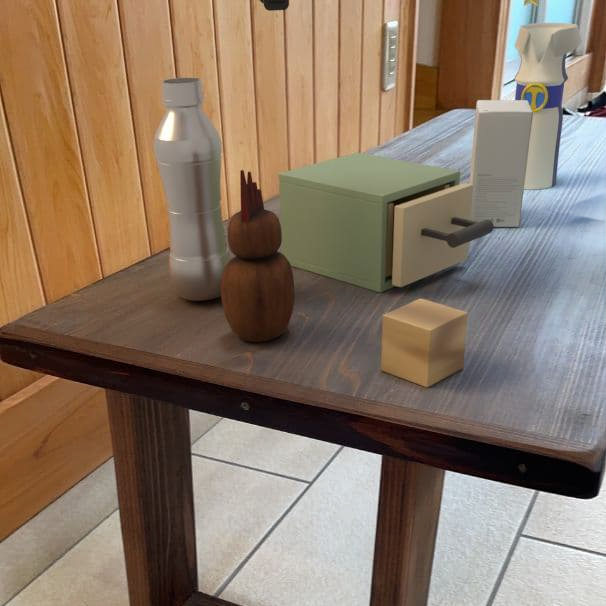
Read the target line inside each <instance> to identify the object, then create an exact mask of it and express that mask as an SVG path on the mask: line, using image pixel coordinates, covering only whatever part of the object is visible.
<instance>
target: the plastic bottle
mask: <svg viewBox="0 0 606 606" xmlns="http://www.w3.org/2000/svg"><path fill="white" fill-rule="evenodd" d="M161 91H162V98H161V101H162V105H163V106H165V108H166V109H165V112H164V114H163V116H162V119H161V120H160V122H159V125H158V127H157V130H156V132H155V134H154V139H153V145H152V146H153V152H154V157H155V161H156V165H157V168H158V173H159V176H160V180H161V185H162V188H163V194H164V199H165V200H164V201H165V204H166V207H167V208H166V211H167V217H168V229H169V230H168V231H169V232H168V233H169V251H170V252H169V258H168V276H169V279H170V283H171V286H172V289H173V290H174V292H175V293H176V294H177V295H178V296H179V297H180V298H181V299H184V300H188V301H208V300H209V301H210V300H213V299H217V298H220V297H221V277H222V274H223V270H224V267H225V266H226V265H227V263H228V262H229V261H230V260H231V259H232V258H231V254H230V251H229V247H228V245H227V239H226V232H225V227H224V220H223V215H222V203H221V201H222V192H221V191H222V189H221V176H222V153H223V149H222V147H223V146H222V139H221V136H220V133H219V131H218V129H217V127H216V126H215V125H214V123H213V121H212V120H211V119H210V117H209V116H208V114H207V113H206V112H205V111H204V110H203V106H202V104H203V103H205V95H204V94H203V93H204V92H203V91H204V90H203V81H202V79H201V78H198V77H175V78H167V79H163V80H162V81H161Z"/></svg>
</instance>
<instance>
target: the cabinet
mask: <svg viewBox="0 0 606 606" xmlns="http://www.w3.org/2000/svg"><path fill="white" fill-rule="evenodd" d="M460 179H461V171H460V170H457V169H456V170H455V169H452V168H451V169H450V168H445V167H439V166H434V165H428V164H422V163H417V162H412V161H407V160H401V159H394V158H391V157H384V156H379V155H372V154H369V153H361V152H353V153H349V154H347V155H343V156H339V157H335V158H332V159H327V160H323V161H320V162H315V163H312V164H309V165H305V166H301V167H298V168H294V169H291V170H287V171H283V172H279V173H278V195H279V215H280V216H279V217H280V219H279V221H280V225H281V232H282V242H281V253H282V254H283V255H284V256H285V257H286V258H287V260H288V261H289V262H290V265H291V267H294V268H298V269H301V270H303V271H308V272H311V273H313V274H317V275H320V276H324V277H327V278H330V279H334V280H337V281H341V282H343V283H347V284H350V285H354V286H358V287H360V288H364V289H367V290H370V291H373V292H377V293H383V292H385V291H388V290H390V289H393V288H395V287H396V286H394V285H392V275H390V276H388V277H385V273H386V239H387V203H388V202H391V201H394V200H397V199H400V198H403V197H406V196H409V195H412V194H415V193H418V192H421V191H424V190H427V189H430V188H433V187H436V186H439V185H443V184H450V188H451V187H454V186H456V185H459V184H460V182H461V181H460Z"/></svg>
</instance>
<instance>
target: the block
mask: <svg viewBox="0 0 606 606" xmlns="http://www.w3.org/2000/svg"><path fill="white" fill-rule="evenodd" d="M468 315H469V312H468V311H464V310H462V309H458V308H455V307H451V306H448V305H445V304H441V303H437V302H434V301H431V300H427V299H424V298H421V297H420V298H418V299H416V300H413V301H411V302H409V303H407V304H404V305H402V306H399V307H398V308H396V309H394V310H393V309H392V310H391V311H388V312H386V313H384V314H382V333H381V367H380V369H381V370H380V371H381V372H384V373H387V374H389V375H391V376H395V377H397V378H400V379H402V380H403V379H404V380H406V381H409V382H410V383H414V384H416V385H419V386H422V387H425V388H429V387H431V386H433V385H435V384H436V383H438V382H441V381H443V380H445V379H446V378H447V377H449V376H452V375H453V374H455V373H457V372H459V371H461V370H463V369H464V364H465V363H464V361H465V353H466V351H465V350H466V340H467V329H468V317H469V316H468Z"/></svg>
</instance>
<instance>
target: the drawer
mask: <svg viewBox="0 0 606 606" xmlns="http://www.w3.org/2000/svg"><path fill="white" fill-rule="evenodd" d="M472 196H473V184H469V183H467V182H463V183H459V185H456V186H454V187H451V188H450V184H443V185H439V186H436V187H433V188H430V189H427V190H424V191H421V192H418V193H415V194H412V195H409V196H406V197H403V198H400V199H397V200H394V201H391V202H388V203H387V239H386V273H385V277H388V276H390V275H392V285H394V286H395V287H398V288H403V287H405V286H407V285H410V284H412V283H415V282H418V281H419V280H422V279H424V278H427V277H428V276H431V275H434V274H436V273H439V272H441V271H443V270H445V269H448V268H450V267H453V266H455V265H457V264H460V263H462V262H464V261H467V260H468V254H469V253H468V252H469V242H472V241H475V240H477V239H480V238H482V237H485V236H487V235H489V234H491V233H493V231H494V228H495V227H494V226H493V223H492V221H491V220H488V219H486V220H484V221H481V222H475V221H471V220H470V219H471V208H472Z"/></svg>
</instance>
